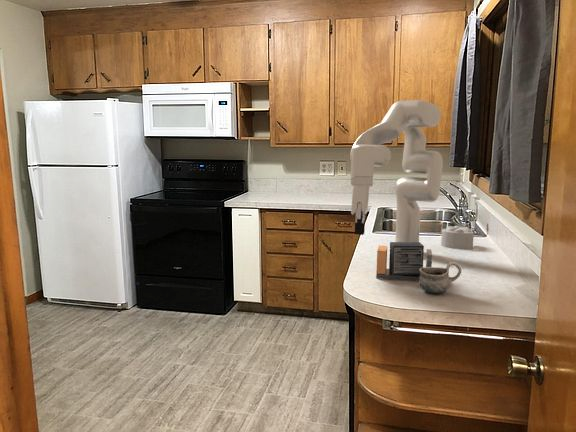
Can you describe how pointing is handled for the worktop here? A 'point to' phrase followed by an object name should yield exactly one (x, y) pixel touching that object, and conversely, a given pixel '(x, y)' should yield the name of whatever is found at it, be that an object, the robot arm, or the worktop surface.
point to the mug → (437, 278)
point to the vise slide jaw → (381, 259)
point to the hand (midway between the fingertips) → (359, 234)
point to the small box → (406, 258)
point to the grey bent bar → (406, 277)
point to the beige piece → (457, 237)
